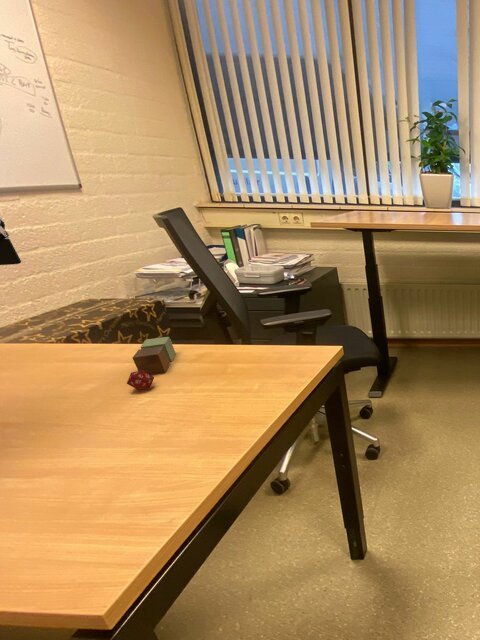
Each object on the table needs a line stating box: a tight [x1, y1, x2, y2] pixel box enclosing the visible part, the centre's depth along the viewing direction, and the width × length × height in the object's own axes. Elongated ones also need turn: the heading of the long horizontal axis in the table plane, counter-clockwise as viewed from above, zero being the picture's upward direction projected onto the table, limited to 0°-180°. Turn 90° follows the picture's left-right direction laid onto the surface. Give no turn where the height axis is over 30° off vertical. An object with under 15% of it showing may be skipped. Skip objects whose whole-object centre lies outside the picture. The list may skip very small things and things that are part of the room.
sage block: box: [140, 336, 177, 363], centre depth 96 cm, size 4×4×4 cm
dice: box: [126, 370, 155, 391], centre depth 84 cm, size 4×4×4 cm
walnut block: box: [132, 346, 171, 376], centre depth 91 cm, size 4×4×4 cm
